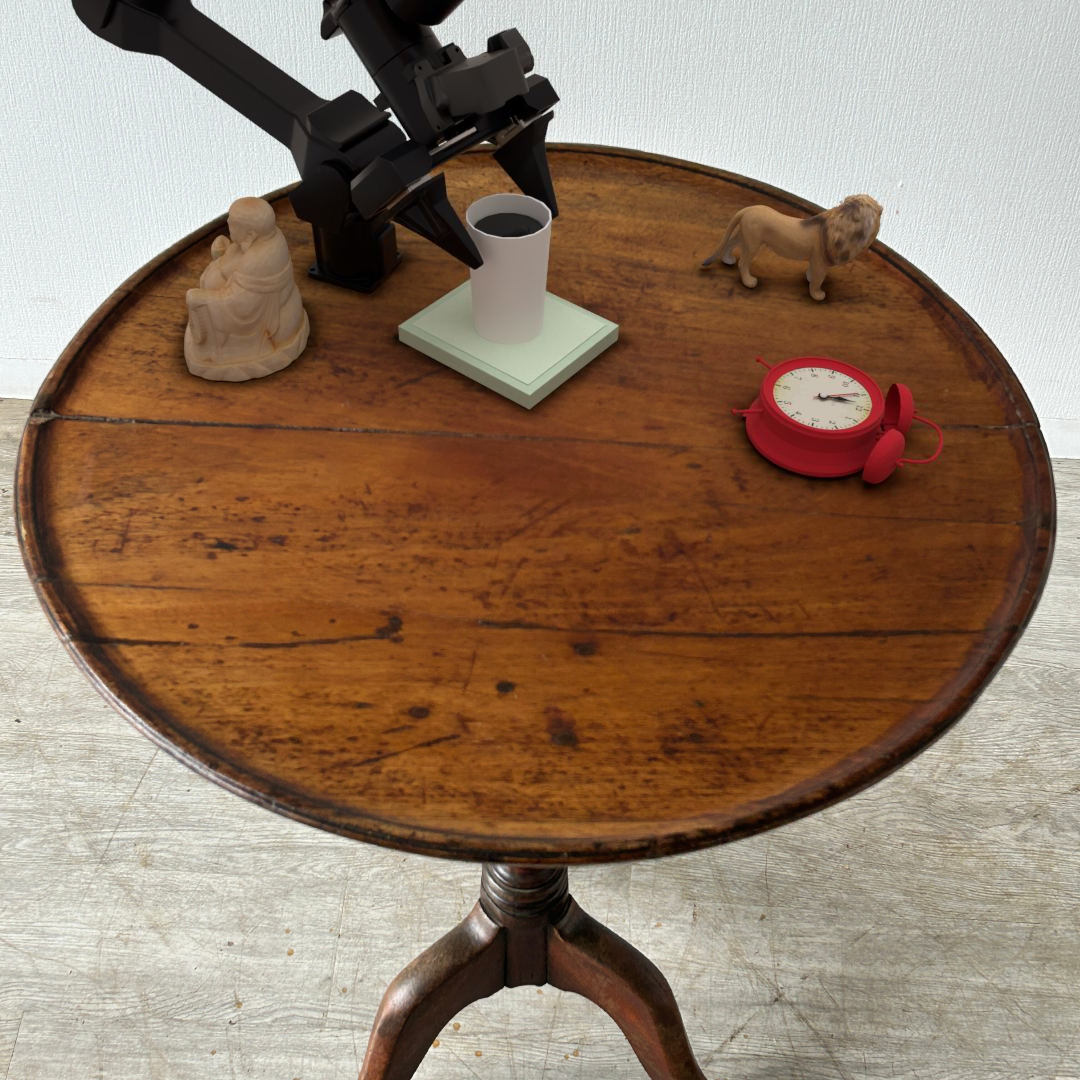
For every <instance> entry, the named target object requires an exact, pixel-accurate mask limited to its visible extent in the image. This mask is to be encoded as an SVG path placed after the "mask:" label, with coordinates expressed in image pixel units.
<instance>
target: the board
mask: <svg viewBox="0 0 1080 1080" xmlns="http://www.w3.org/2000/svg"><path fill="white" fill-rule="evenodd" d="M397 328H398V340H399V341H400V342H402V343H403V344H405V345H407V346H409V347H410V348H413V349H415V350H416V351H418V352H420V353H422V354H424V355H426V356H428V357H430V358H431V359H434V360H435V361H437V362H439V363H441V364H443V365H445V366H446V367H449V368H450V369H452V370H454V371H456V372H458V373H460V374H462V375H464V376H465V377H467V378H468V379H470V380H473V381H475V382H476V383H479V384H480V385H482V386H484V387H486V388H488V389H490V390H491V391H493V392H495V393H497V394H499V395H501V396H503V397H505V398H507V399H509V400H510V401H512V402H514V403H515V404H518V405H519V406H522V407H524V408H525V409H527V410H531V409H533V407H535V406H536V405H538V404H539V403H540V402H541V401H542V400H543V399H545V398H546V397H548V395H550V394H551V393H553V392H554V391H555V390H556V389H558V388H559V387H560V386H561V385H562V384H563V383H565V382H566V381H568V380H569V379H570V378H571V377H573V376H574V375H575V374H576V373H578V372H579V371H580V370H581V369H583V368H584V367H585V366H586V365H588V364H589V363H590V362H592V361H593V360H594V359H596V358H597V357H598V356H599V355H600V354H602V353H603V352H605V350H607V349H608V348H609V347H611V346H612V345H613V344H615V343H616V342H617V341H618V339H619V331H620V330H619V329H620V325H619V324H617V323H615V322H613V321H611V320H608V319H606V318H604V317H602V316H601V315H598V314H596V313H593V312H592V311H589V310H587V309H585V308H584V307H581V306H579V305H577V304H574V303H573V302H570V301H568V300H566V299H564V298H562V297H560V296H558V295H556V294H554V293H552V292H549V291H547V290H546V292H545V303H544V315H543V327H542V329H541V330H540V332H539V334H538V335H537V336H535V337H534V338H532V339H531V340H529V341H525V342H522V343H518V344H500V343H495V342H491V341H488V340H487V339H485V338H483V337H481V336H480V335H479V334H478V333H477V331H476V330H475V329H474V319H473V305H472V292H471V278H469V279H467V280H466V281H465V282H463V283H461V284H460V285H458V286H457V287H456V288H454V289H452V290H451V291H449V292H448V293H446V294H445V295H443V296H442V297H440V298H439V299H437V300H435V301H434V302H432V303H431V304H429V305H428V306H427V307H425V308H423V309H422V310H420V311H419V312H417V313H416V314H414V315H412V316H411V317H409V318H408V319H407V320H405V321H404V322H401V324H399V325H398V326H397Z"/></svg>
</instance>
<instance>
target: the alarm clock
mask: <svg viewBox="0 0 1080 1080" xmlns="http://www.w3.org/2000/svg"><path fill="white" fill-rule="evenodd" d="M755 362H756V363H760V364H762V365H763V366H765V367H766V368H767V369H768V370H769V371H768V372H767V374H766V375H765V377H763V380H762V382H761V385H760V389H759V395H758V397H756V398H755V399H754V401H753V402H752V403H751V405H750V406H749V408H748V409H747V408H745V409H740V410H739V409H736V408H732V409H731V411H730V414H731V415H732V416H736V414H742V418H741V419H743V418H745V430H746V434H747V437H748V438H749V441H750V442H751V444H752V445H753V447H754V448H755V449H756V450H757V452H758V453H760V455H762V456H763V457H765V458H766V459H767V460H768V461H770V462H772V464H775V465H776V466H779V467H780V468H782V469H785V470H788V471H790V472H793V473H796V474H800V475H805V476H807V477H815V478H816V477H817V478H837V477H838V478H839V477H845V476H849V475H852V474H855V473H858V472H861V471H862V470H863V471H862V474H861V475H862V480H863V481H865V482H867V483H869V484H872V485H873V484H875V485H876V484H879V483H881V482H883V481H885V480H886V479H887V478H888V477H889V476H890V475H891V474H892V473H894V471H895V470H896V468H897V467H899V468H901V469H902V468H904V465H905V464H904V463H907V464H915V465H925V464H929V463H931V462H933V461H935V460H936V459H937V458H938V457H939V455H940V454H941V452H942V450H943V446H944V444H943V443H944V437H943V432H942V430H941V428H939V426H938V425H937V424H935V423H934V422H932V421H930V420H929V419H925V418H923V417H920V416H917V415H914V414H918V413H919V409H915V405H914V404H915V403H914V397H913V393H912V392H911V390H910V388H909V387H907V386H906V385H905V384H903V383H892V384H891V385H890V387H889V388H888V391H887V392H886V393H887V394H886V395H885V398H884V394H883V391H882V390H881V388H880V386H879V385H878V383H876V381H875V380H874V379H873V378H872V377H871V375H870V376H869V374H867V373H866V372H865V371H863V370H861V369H859V368H858V367H856V366H854V365H853V364H850V363H847V362H844V361H841V360H838V359H835V358H829V357H824V356H823V357H822V356H800V357H799V356H798V357H795V358H790V359H787V360H784V361H782V362H780V363H777V365H775V366H772V365H771V364H768V363H767V362H766V361H764V360H763V359H762V357H761V356H756V358H755ZM913 419H914V420H916V421H919V422H921V423H925V424H927V425H929V426H930V427H932V428H933V429H934V430H935V431H936V432H937V435H938V437H939V438H938V439H939V442H938V447H937V451H936V452H935V454H934V455H933V456H931V457H930V458H927V459H920V460H919V459H918V460H916V459H909V458H902V456H903V455H904V453H905V452H904V451H905V447H906V440H905V436H906V434H907V433H908V432H909V430H910V428H911V426H912V424H913ZM882 426H883V429H884V431H883V429H882Z"/></svg>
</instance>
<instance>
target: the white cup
mask: <svg viewBox="0 0 1080 1080" xmlns="http://www.w3.org/2000/svg"><path fill="white" fill-rule="evenodd" d="M465 217H466V218H465V222H466V223H465V224H466V230H467V232H468V233H469V235H470V237H471V238H472V240H473V241H474V243H475V245H476V247H477V249H478V251H479V253H480V255H481V257H482V259H483V261H484V264H483V265H482V266H481V267H479V268H478V269H476V270H473V269H472V268H470V267H469V275H470V277H469V279H471V292H472V305H473V319H474V329H475V330H476V331H477V333H478V334H479V335H480V336H481V337H483V338H485V339H487V340H488V341H491V342H495V343H500V344H518V343H522V342H525V341H529V340H531V339H532V338H534V337H535V336H537V335H538V334H539V332H540V330H541V329H542V327H543V315H544V303H545V292H546V291H547V281H548V279H547V278H548V267H549V256H550V245H551V234H552V233H551V232H552V221H553V220H552V217H551V211H550V209H549V208H548V207H547V206H546V205H545V204H544V203H543V202H541V201H539V200H537V199H535V198H532V197H530V196H525V194H519V193H496V194H491V195H487V196H483V197H481V198H480V199H477V200H476V201H473V202H472V203H471V204H470V205H469V206H468V208H467V209H466V210H465Z"/></svg>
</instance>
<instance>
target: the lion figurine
mask: <svg viewBox="0 0 1080 1080" xmlns="http://www.w3.org/2000/svg"><path fill="white" fill-rule="evenodd" d="M883 211H884V206H883V205H881V204H879V203H878V200H876V199H874V198H873V196H870V195H869V194H866V193H858V194H852V195H848V196H845V198H844V199H843V203H841V204H839V205H838V206H837V205H836V206H833V207H831V208H828V209H826V210H825V211H822V212H821V213H818V214H817V215H812V216H811V217H810V218H800V217H799V218H798V217H794V216H790V215H786V214H783V213H782V212H781V213H780V212H779V211H777V210H775V209H774V208H772V207H769V206H767V205H764V204H757V205H751V206H746V207H744V208H741V209H740V210H739V211H737V213H735V214H734V216H733V217H732V218H731V219H730V221H729V223H728V225H727V226H726V229H725V230H724V233H723V235H722V237H721V239H720V242H719V244H718V246H717V248H716V250H715V251H714V252H713V254H711V256H709V257H707V258H706V259H705V260H703V261H702V262H701V263H700V266H702V267H710V266H712V265H713V264H714V263H715V262H716V261H718V259H719V257H720V255H721V257H720V258H721V261H722V262H723V263H724V264H728V265H733V264H735V263H736V262H737V257H736V256H735V254H732V251H733V250H734V249H736V248H738V247H740V246H741V247H740V248H741V257H740V259H739V261H738V263H737V266H738V269H739V272H740V276H741V280H742V283H743V285H744V286H746V287H748V288H755V287H757V284H758V278H757V277H755V276H752V275H751V274H750V265H751V263H752V262H753V260H754V259H755V257H756V256H757V254H758V253H759V251H760V248H761V246H762V245H763V244H766V245H767V246H768V247H769V248H770V249H771V250H772V251H773V252H774V253H775V254H777V255H778V256H780V257H782V258H784V259H787V260H791V261H798V262H799V261H800V262H808V263H809V264H808V268H807V270H806V274H805V275H806V279H807V281H808V282H809V295H810V297H811V298H812V299H813V300H815V301H823V300H824V299H825V297H826V292H825V291H824V290H822V289H821V286H822V284H823V282H824V280H825V279H826V276H827V273H828V271H829V268H830V267H835V266H843V267H844V266H845V267H846V266H847V265H848V264H850V263H852V262H853V261H854V260H855V258H856V257H858V255H860V254H862V253H863V252H864V251H866V250H867V249H868V248H870V246H871V245H872V243H874V241H875V240H876V238H877V237H878V235H879V233H880V229H881V218H882V215H883ZM738 225H739V228H738V230H737V231H736V232H735V233H734V234H733V232H734V231H735V229H736V227H737V226H738ZM732 234H733V235H732Z"/></svg>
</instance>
